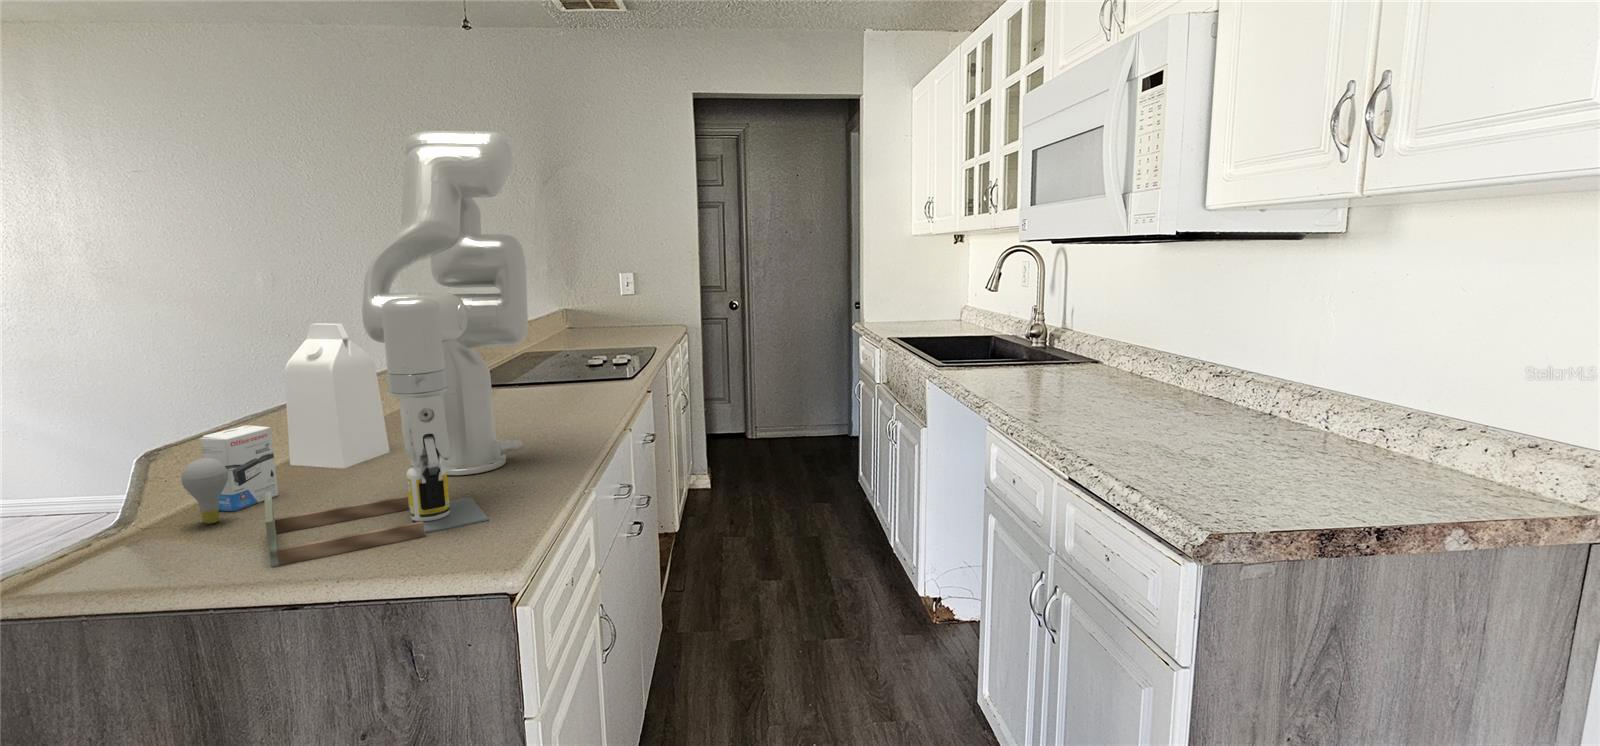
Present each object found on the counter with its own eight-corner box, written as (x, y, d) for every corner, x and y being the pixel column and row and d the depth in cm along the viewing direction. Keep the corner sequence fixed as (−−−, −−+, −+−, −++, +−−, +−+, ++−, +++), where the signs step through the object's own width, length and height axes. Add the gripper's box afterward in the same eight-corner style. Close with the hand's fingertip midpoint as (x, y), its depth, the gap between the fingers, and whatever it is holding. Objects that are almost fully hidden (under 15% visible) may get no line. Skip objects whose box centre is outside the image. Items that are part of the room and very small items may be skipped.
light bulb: (205, 532, 113) (195, 465, 111) (179, 528, 115) (169, 461, 113) (243, 519, 118) (234, 455, 116) (218, 515, 120) (209, 452, 118)
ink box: (234, 512, 121) (224, 438, 119) (207, 510, 122) (197, 437, 120) (280, 495, 130) (271, 425, 128) (255, 493, 131) (246, 424, 129)
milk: (389, 452, 156) (376, 321, 151) (344, 468, 145) (328, 327, 140) (338, 449, 158) (324, 320, 154) (290, 465, 147) (272, 326, 143)
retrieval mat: (471, 499, 126) (470, 497, 126) (489, 520, 117) (489, 518, 117) (409, 510, 121) (409, 508, 121) (423, 533, 112) (422, 531, 112)
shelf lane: (408, 508, 122) (404, 470, 121) (424, 536, 110) (420, 495, 109) (269, 533, 112) (264, 492, 111) (271, 567, 100) (265, 522, 99)
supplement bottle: (458, 512, 119) (452, 449, 118) (431, 524, 114) (424, 459, 113) (430, 508, 121) (424, 446, 119) (402, 520, 116) (395, 456, 114)
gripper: (458, 389, 109) (468, 512, 112) (434, 372, 123) (444, 482, 126) (398, 395, 105) (411, 524, 108) (381, 377, 119) (393, 491, 122)
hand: (429, 500), depth 117 cm, fingers open, 5 cm apart
